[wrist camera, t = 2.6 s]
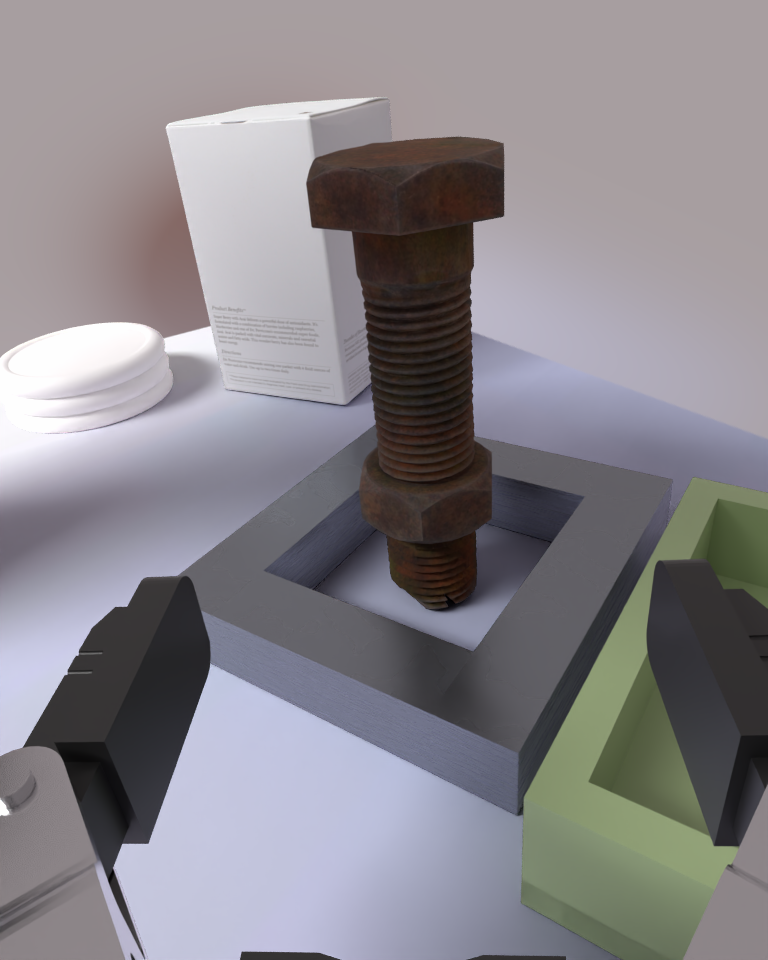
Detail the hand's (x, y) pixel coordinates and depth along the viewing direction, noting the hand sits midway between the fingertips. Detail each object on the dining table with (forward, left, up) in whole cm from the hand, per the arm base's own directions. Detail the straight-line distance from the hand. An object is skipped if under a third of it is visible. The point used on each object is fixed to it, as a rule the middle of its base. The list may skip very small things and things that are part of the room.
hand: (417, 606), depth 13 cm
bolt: (-6, +10, -9) cm, 15 cm away
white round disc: (-34, +16, -10) cm, 38 cm away
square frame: (-6, +10, -9) cm, 15 cm away
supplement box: (-23, +25, -9) cm, 35 cm away
